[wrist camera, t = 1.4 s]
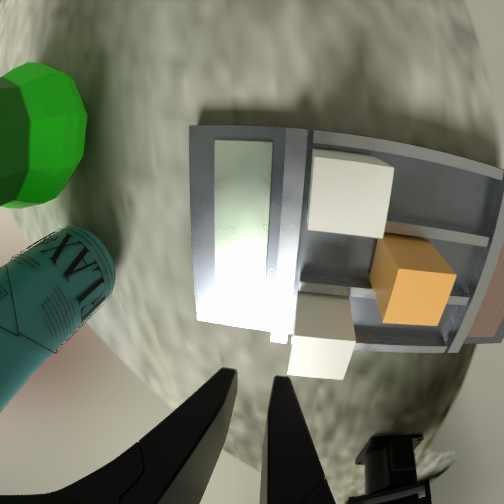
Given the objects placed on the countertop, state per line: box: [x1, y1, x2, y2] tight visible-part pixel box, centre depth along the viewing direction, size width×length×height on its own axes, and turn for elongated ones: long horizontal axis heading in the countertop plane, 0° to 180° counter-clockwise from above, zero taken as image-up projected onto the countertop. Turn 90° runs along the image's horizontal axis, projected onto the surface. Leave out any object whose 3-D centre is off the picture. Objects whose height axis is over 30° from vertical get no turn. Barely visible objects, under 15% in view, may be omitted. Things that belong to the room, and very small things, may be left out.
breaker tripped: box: [369, 233, 457, 326], centre depth 13 cm, size 3×3×4 cm
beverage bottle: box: [0, 226, 115, 413], centre depth 12 cm, size 6×7×20 cm
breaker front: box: [308, 148, 394, 239], centre depth 12 cm, size 3×3×4 cm
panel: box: [189, 125, 504, 353], centre depth 16 cm, size 13×24×2 cm, turn 88°
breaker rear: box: [287, 289, 356, 380], centre depth 16 cm, size 3×3×4 cm
